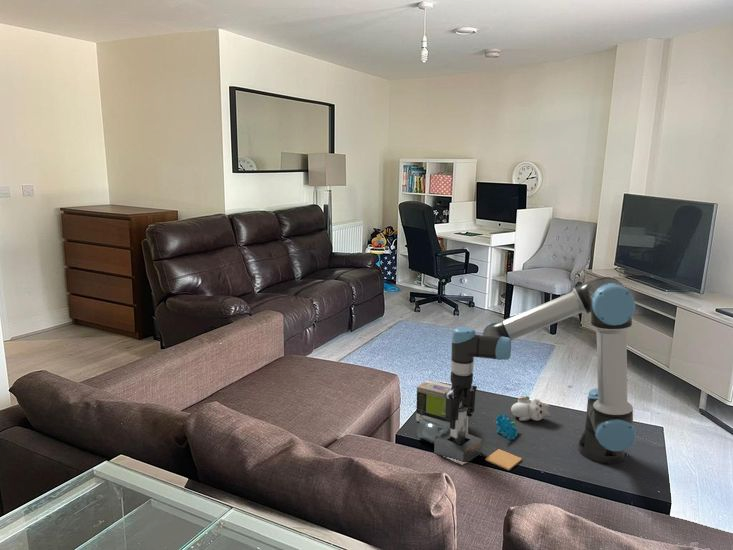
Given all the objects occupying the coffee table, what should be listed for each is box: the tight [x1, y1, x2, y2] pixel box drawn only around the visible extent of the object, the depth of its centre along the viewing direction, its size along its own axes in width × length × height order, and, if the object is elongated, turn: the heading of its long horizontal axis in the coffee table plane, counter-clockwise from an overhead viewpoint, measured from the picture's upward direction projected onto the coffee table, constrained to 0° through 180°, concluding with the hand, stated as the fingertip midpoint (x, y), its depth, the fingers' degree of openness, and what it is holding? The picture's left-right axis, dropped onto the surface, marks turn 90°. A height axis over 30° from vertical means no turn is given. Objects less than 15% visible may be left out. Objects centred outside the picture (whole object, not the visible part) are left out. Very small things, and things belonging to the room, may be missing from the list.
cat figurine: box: [510, 396, 551, 422], centre depth 212 cm, size 10×8×15 cm
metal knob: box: [452, 402, 468, 446], centre depth 185 cm, size 5×5×14 cm
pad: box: [485, 448, 523, 471], centre depth 182 cm, size 9×9×1 cm
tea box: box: [415, 379, 462, 430], centre depth 208 cm, size 15×10×15 cm, turn 56°
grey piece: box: [416, 419, 484, 463], centre depth 189 cm, size 22×12×7 cm, turn 46°
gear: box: [495, 413, 518, 440], centre depth 199 cm, size 11×6×10 cm
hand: (459, 434), depth 185 cm, fingers closed on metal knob, 4 cm apart
